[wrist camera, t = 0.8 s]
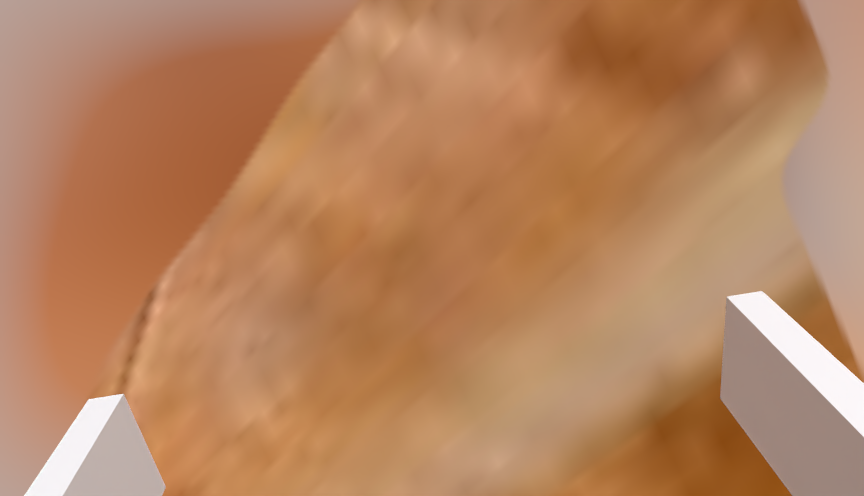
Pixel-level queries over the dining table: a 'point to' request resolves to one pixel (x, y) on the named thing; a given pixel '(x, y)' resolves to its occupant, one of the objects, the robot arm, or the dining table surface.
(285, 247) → the dining table surface
